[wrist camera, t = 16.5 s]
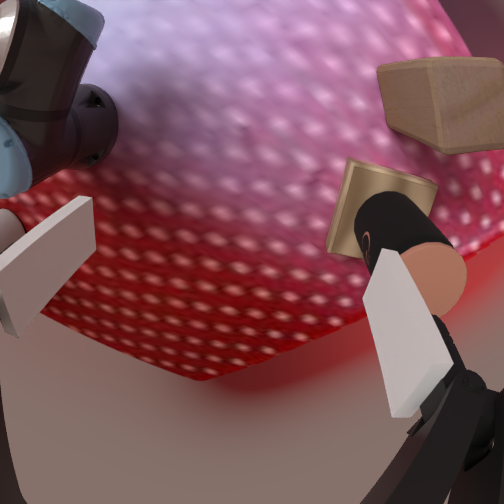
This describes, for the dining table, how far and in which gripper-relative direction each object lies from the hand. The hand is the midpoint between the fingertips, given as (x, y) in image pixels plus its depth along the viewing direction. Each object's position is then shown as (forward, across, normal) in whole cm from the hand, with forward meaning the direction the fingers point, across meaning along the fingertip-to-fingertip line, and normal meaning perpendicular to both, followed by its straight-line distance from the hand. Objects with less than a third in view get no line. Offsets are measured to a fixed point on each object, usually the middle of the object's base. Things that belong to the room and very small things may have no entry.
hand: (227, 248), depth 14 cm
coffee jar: (+33, +20, -9) cm, 39 cm away
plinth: (+37, +20, -9) cm, 43 cm away
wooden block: (+37, +20, +11) cm, 43 cm away
